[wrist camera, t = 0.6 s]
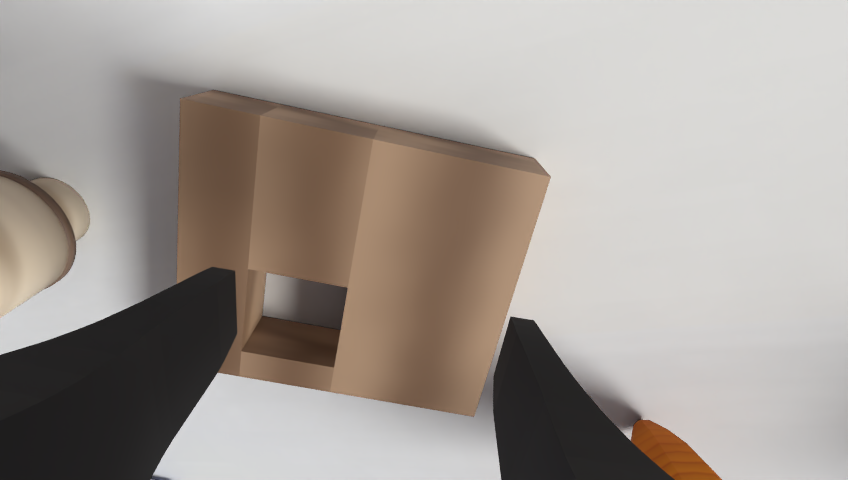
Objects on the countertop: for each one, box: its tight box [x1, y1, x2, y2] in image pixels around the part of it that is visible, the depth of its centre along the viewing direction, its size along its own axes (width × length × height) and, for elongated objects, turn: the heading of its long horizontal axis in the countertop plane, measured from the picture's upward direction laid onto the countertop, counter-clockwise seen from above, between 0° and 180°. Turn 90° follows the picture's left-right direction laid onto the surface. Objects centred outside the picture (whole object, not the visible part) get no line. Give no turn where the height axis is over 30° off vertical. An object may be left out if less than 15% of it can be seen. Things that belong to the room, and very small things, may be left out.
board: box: [177, 90, 551, 417], centre depth 22 cm, size 14×12×3 cm
